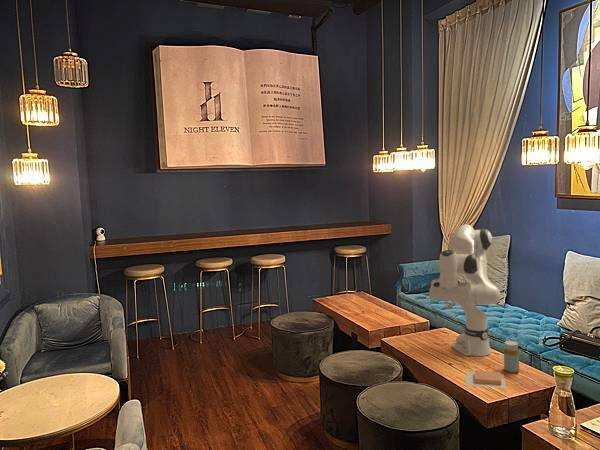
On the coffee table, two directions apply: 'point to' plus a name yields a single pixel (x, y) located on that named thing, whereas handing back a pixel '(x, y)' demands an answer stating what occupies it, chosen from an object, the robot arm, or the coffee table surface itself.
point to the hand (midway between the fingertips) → (449, 308)
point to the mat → (471, 381)
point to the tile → (487, 377)
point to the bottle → (511, 357)
